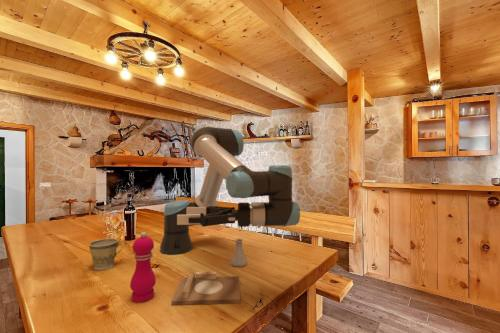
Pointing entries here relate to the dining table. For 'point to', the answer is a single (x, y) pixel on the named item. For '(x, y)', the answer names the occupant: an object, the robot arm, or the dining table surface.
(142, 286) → the pepper mill
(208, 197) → the robot arm
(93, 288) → the dining table surface
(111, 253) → the ceramic cup
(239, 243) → the flask
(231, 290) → the jig board
